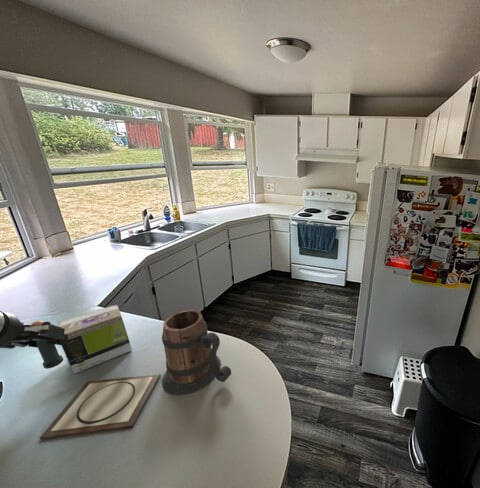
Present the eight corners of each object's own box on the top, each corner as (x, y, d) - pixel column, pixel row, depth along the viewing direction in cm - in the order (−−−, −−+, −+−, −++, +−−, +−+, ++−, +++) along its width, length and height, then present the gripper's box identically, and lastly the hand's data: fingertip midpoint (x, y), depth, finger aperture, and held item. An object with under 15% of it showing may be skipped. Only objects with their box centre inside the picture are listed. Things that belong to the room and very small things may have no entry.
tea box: (127, 336, 94) (118, 303, 89) (132, 351, 87) (122, 315, 82) (72, 357, 84) (57, 320, 79) (72, 375, 77) (57, 336, 72)
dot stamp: (39, 369, 64) (20, 327, 60) (51, 358, 68) (34, 318, 63) (55, 367, 65) (38, 326, 60) (67, 357, 68) (50, 317, 64)
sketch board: (40, 440, 60) (38, 436, 60) (87, 383, 75) (86, 380, 74) (132, 427, 63) (131, 424, 63) (160, 375, 78) (160, 372, 78)
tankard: (148, 383, 75) (133, 329, 69) (194, 346, 90) (185, 298, 84) (208, 412, 68) (199, 354, 61) (248, 366, 83) (243, 315, 76)
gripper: (-90, 360, 44) (14, 364, 64) (30, 339, 50) (92, 348, 70) (-74, 317, 47) (21, 333, 67) (38, 302, 53) (95, 321, 73)
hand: (57, 341), depth 68 cm, fingers closed on dot stamp, 3 cm apart
